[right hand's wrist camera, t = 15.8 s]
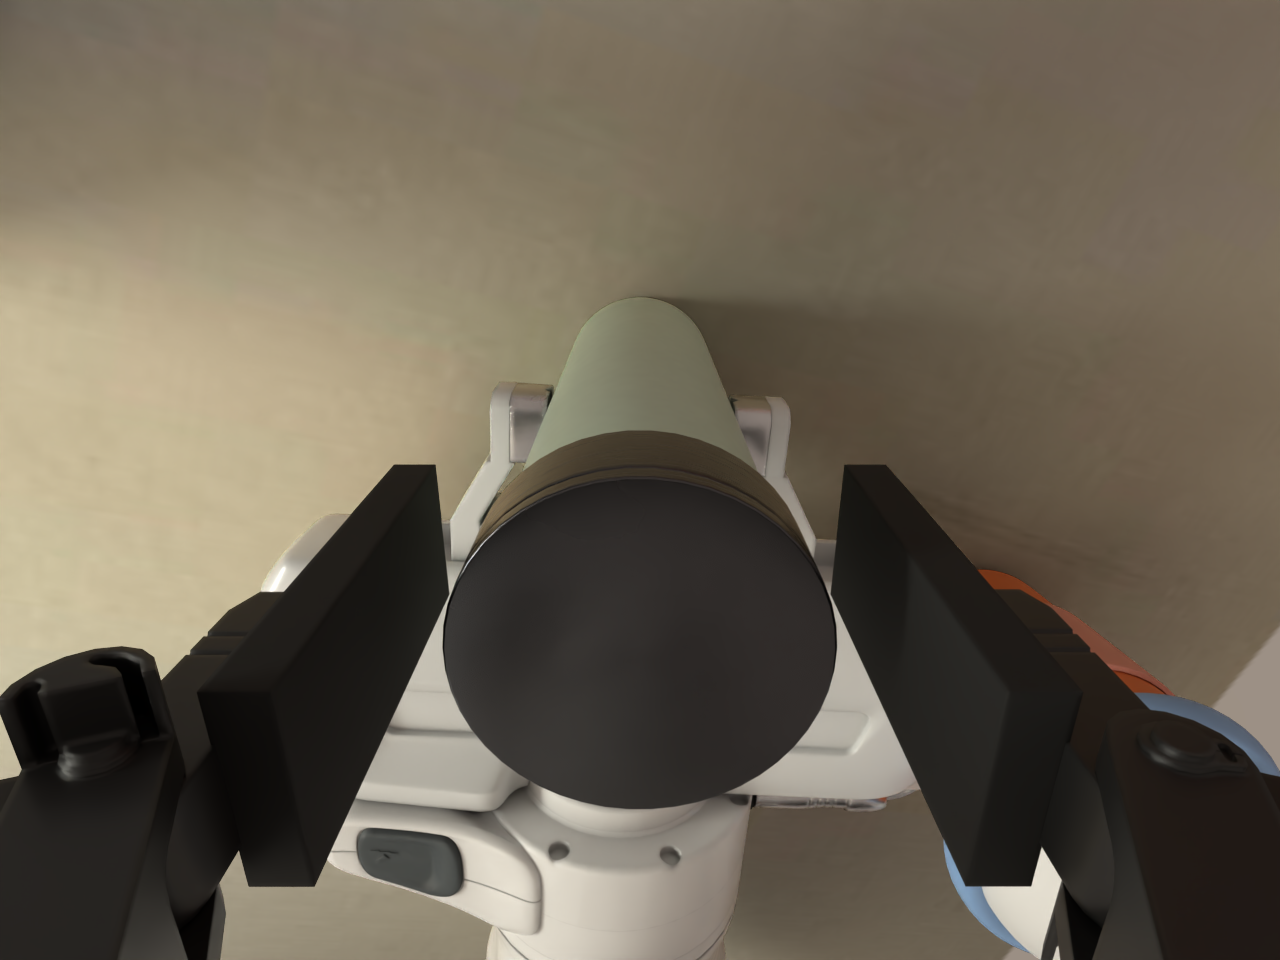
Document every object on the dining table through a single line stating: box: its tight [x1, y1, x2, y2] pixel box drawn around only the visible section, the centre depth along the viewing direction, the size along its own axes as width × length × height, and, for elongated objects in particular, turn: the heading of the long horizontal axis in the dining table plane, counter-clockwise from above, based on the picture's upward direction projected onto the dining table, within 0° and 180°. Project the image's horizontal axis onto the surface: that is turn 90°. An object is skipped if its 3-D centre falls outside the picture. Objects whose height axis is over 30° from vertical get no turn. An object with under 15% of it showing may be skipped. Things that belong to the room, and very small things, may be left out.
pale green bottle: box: [522, 297, 758, 472], centre depth 19 cm, size 5×5×17 cm
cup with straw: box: [944, 569, 1280, 960], centre depth 22 cm, size 9×9×18 cm
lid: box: [442, 430, 837, 809], centre depth 11 cm, size 5×5×2 cm
